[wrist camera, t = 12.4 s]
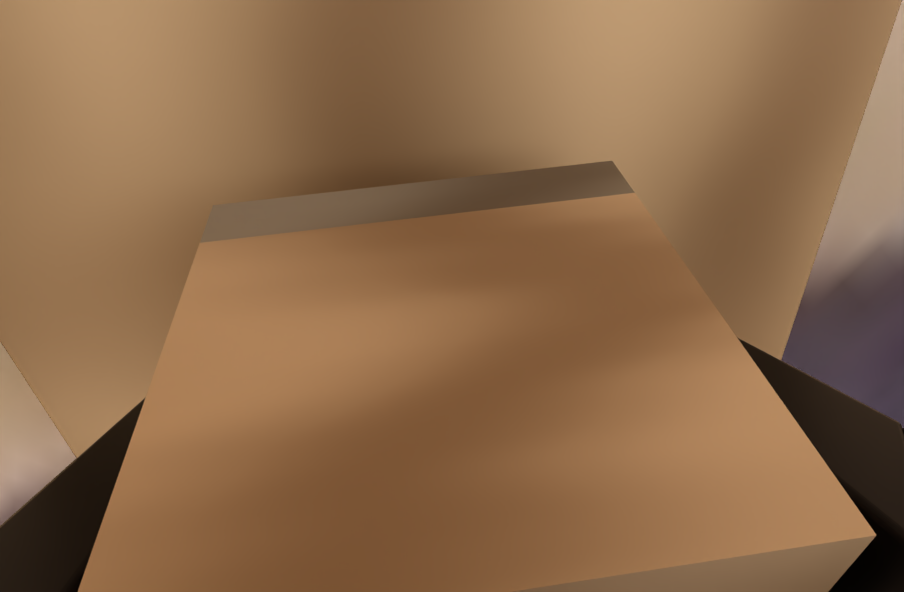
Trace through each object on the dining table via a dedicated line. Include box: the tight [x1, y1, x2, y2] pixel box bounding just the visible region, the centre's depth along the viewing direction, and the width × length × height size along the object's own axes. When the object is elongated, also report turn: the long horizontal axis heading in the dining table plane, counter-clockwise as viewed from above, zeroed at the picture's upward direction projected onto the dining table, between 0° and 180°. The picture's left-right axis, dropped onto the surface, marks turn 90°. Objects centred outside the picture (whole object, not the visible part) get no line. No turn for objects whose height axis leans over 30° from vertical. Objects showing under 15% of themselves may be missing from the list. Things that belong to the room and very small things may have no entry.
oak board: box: [0, 0, 902, 458], centre depth 10 cm, size 14×20×2 cm
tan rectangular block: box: [78, 161, 876, 592], centre depth 8 cm, size 5×7×5 cm
